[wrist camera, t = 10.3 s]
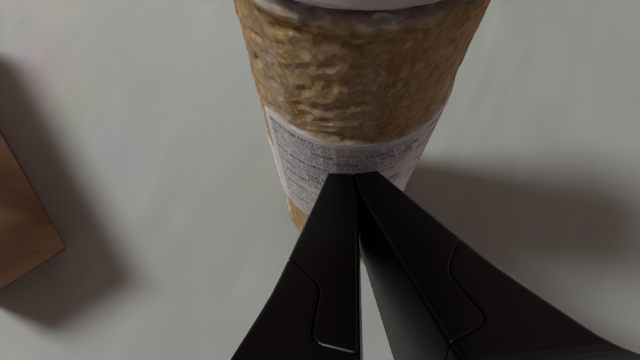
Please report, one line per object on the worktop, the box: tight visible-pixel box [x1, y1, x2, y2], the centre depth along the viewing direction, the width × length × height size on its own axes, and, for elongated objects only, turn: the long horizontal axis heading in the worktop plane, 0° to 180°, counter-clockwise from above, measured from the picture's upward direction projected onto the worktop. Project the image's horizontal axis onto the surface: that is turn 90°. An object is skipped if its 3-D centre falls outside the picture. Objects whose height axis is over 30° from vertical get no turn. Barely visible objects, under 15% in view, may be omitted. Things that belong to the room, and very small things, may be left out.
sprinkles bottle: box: [233, 0, 491, 248], centre depth 9 cm, size 5×5×14 cm
